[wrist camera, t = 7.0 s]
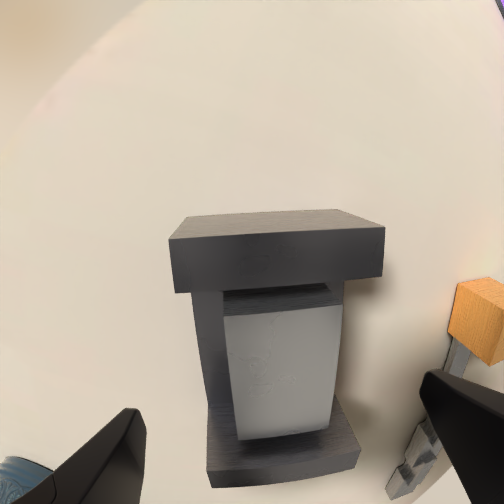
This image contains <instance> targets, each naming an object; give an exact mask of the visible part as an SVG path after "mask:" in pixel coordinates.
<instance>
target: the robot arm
mask: <svg viewBox="0 0 504 504" xmlns="http://www.w3.org/2000/svg"><path fill="white" fill-rule="evenodd" d="M419 394H420V398H421V400H422V402H423V405H424V407H425V409H426V412H427V414H428V416H429V419H430V421H431V424H432V426H433V428H434V430H435V432H436V434H437V436H438V438H439V440H440V442H441V444H442V445H443V447H444V449H445V451H446V453H447V455H448V457H449V459H450V461H451V463H452V465H453V467H454V469H455V470H456V472H457V474H458V476H459V478H460V480H461V483H462V485H463V487H464V489H465V491H466V493H467V495H468V497H469V499H470V501H471V504H504V394H503V393H500V392H497V391H494V390H492V389H489V388H486V387H484V386H481V385H478V384H475V383H473V382H470V381H467V380H465V379H462V378H460V377H457V376H454V375H452V374H449V373H447V372H444V371H441V370H439V369H433V370H430V371H427V372H426V373H425V375H424V378H423V381H422V384H421V387H420V391H419ZM146 434H147V432H146V426H145V424H144V421H143V419H142V416H141V413H140V411H139V410H138V409H135V408H125V409H123V410H122V411H121V412H120V413H119V414H118V415H117V416H116V417H114V418H113V419H112V420H111V421H110V422H109V423H108V424H107V425H106V426H104V427H103V428H102V429H101V430H100V431H99V432H98V433H97V434H96V435H94V436H93V437H92V438H91V439H90V440H89V441H88V442H87V443H85V444H84V445H83V446H82V447H81V448H80V449H79V450H78V451H76V452H75V453H74V454H73V455H72V456H71V457H70V458H68V459H67V460H66V461H65V462H64V463H63V464H62V465H60V466H59V467H58V468H57V469H56V470H55V471H53V474H52V473H51V474H50V475H49V476H47V477H46V478H45V479H44V480H43V481H41V482H40V483H39V484H38V485H36V486H35V487H34V488H33V489H31V490H30V491H28V492H27V493H25V494H24V495H22V496H21V497H19V498H18V499H16V500H15V501H13V502H11V503H10V504H139V502H140V496H141V490H142V484H143V478H144V468H145V449H146Z"/></svg>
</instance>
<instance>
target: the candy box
mask: <svg viewBox="0 0 504 504" xmlns="http://www.w3.org/2000/svg"><path fill="white" fill-rule="evenodd" d="M496 2H497V4H498V6H499V8H500V11H501V13H502V15H503V17H504V0H496Z"/></svg>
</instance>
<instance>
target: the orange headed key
mask: <svg viewBox="0 0 504 504" xmlns="http://www.w3.org/2000/svg"><path fill="white" fill-rule="evenodd" d="M448 333H450V334H451V335H452V336H453V341H452V344H451V348H450V351H449V354H448V357H447V361H446V364H445V367H444V370H443V371H444V372H447V373H449V374H452V375H454V376H457V377H460V378H462V375H463V373H464V370H465V367H466V364H467V362H468V359H469V356H470V353H471V351H472V352H473V353H474V354H475V355H476V356H478V357H479V358H480V359H481V360H482V361H483V362H485V363H486V364H487V365H488V366H489V367H490V366H492V365H494V364H496V363H498V362H500V361H502V360H504V284H502V283H500V282H498V281H496V280H494V279H492V278H490V277H488V278H483V279H478V280H473V281H468V282H462V283H458V286H457V291H456V297H455V302H454V306H453V311H452V315H451V320H450V324H449V328H448ZM442 446H443V445H442V444H441V442H440V440H439V438H438V436H437V434H436V432H435V430H434V428H433V426H432V424H431V421H430V419H429V416H427V418H426V421H425V422H423V423H420V424H418V427H417V429H416V431H415V433H414V435H413V438H412V440H411V442H410V444H409V446H408V448H407V450H406V452H405V454H404V456H405V458H406V461H405V463H404V465H403V466H401V467H398V468H397V469H396V471H395V472H394V474H393V476H392V478H391V479H390V481H389V483H388V485H387V486H386V488H385V490H386V492H387V494H388V496H389V498H390V500H393V499H396V498H398V497H401V496H403V495H406V494H408V493H411V492H413V490H414V489H415V488H416V486H417V485H418V484H420V483H421V482H422V481H423V479H424V478H425V476H426V475H427V473H428V472H429V470H430V469H431V467H432V466H433V464H434V463H435V461H436V459H437V458H436V456H437V454H438V453H439V451H440V449H441V448H442Z"/></svg>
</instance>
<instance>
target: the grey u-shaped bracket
mask: <svg viewBox="0 0 504 504" xmlns="http://www.w3.org/2000/svg"><path fill="white" fill-rule="evenodd" d="M384 243H385V227H384V226H381V225H379V224H376V223H373V222H371V221H368V220H365V219H363V218H360V217H357V216H354V215H352V214H349V213H346V212H343V211H340V210H337V209H334V210H304V211H280V212H259V213H241V214H225V215H209V216H195V217H187V218H186V219H185V220H184V221H183V222H182V224H181V225H180V226H179V227H178V228H177V230H176V231H175V232H174V233H173V234H172V236H171V237H170V238H169V249H170V257H171V266H172V274H173V281H174V289H175V293H190V292H191V297H192V305H193V312H194V320H195V327H196V334H197V341H198V347H199V354H200V360H201V366H202V372H203V378H204V384H205V390H206V395H207V401H208V423H207V468H206V471H207V474H208V477H209V481H210V484H211V487H212V488H230V487H246V486H258V485H268V484H276V483H284V482H290V481H297V480H303V479H308V478H314V477H319V476H323V475H328V474H332V473H337V472H341V471H345V470H349V469H353V468H354V467H355V465H356V462H357V459H358V456H359V454H360V451H361V448H360V446H359V444H358V442H357V440H356V438H355V436H354V433H353V431H352V429H351V427H350V425H349V423H348V421H347V419H346V417H345V415H344V413H343V411H342V408H341V406H340V404H339V402H338V400H337V398H336V396H335V394H334V395H333V402H332V408H331V414H330V420H329V426H328V428H325V429H320V430H315V431H309V432H304V433H298V434H291V435H284V436H277V437H269V438H260V439H249V440H238V434H237V427H236V420H235V412H234V405H233V397H232V389H231V381H230V373H229V364H228V355H227V347H226V337H225V328H224V318H223V290H238V289H252V288H265V287H278V286H290V285H302V284H313V283H323V282H324V283H325V284H326V285H327V286H328V288H329V289H330V290H331V291H332V292H333V293H334V294H335V296H336V297H337V298H338V299H339V300H340V301H341V302H342V304H343V290H344V280H353V279H363V278H372V277H381V276H382V270H383V258H384Z"/></svg>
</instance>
